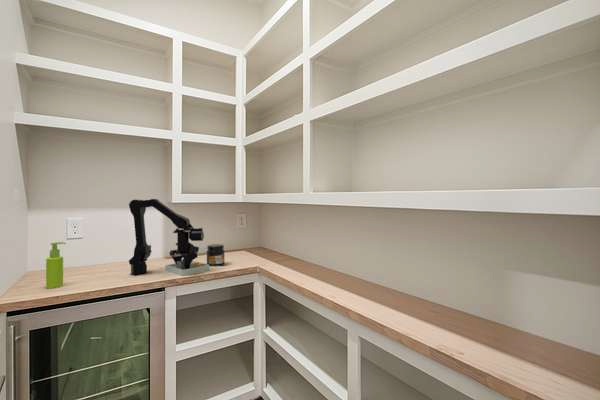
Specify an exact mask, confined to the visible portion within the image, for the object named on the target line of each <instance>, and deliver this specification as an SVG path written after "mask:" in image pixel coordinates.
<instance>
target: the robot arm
mask: <svg viewBox="0 0 600 400" xmlns="http://www.w3.org/2000/svg"><path fill="white" fill-rule="evenodd" d="M128 206H129V210H130V213H131V215H132V216H133V221H134V222H133V225H134V234H135V235H134V236H135V242H136V243H135V246H134V250H133V256H132V257H131V258H130V259H129V260H128V263H129V265H130V273H129V275H131V276H134V277H136V276H141V275H147V274H148V269H147V268H148V265H147V261H148V258H150V256H151V254H152V253H153V251H152V245H151V244H148V243H147V237H146V236H147V235H146V225H145V214H146V209H147V208H151V207H152V208H154V209H156V210H157V211H158V212H159V213H161V214H163V216H165V217H166V218H168V219H169V220H170V221H171V222H172V224H173V225H174V226H175V227H176V229H175V230H174V231H173V232H172V233H173V234H176V236H177V240H176V241H177V242H176V243H175V246H176V248H177V249H171V250H170V251H169V256H170V257H171V258H172V260H173V261H174V264H175V263H176V265H177V261H182V260H183V263H184V267H185V269H189V267H190V264H191V262H192V261H195V259H197V258H198V253H199V250H200V247H199V246H195V245H194V244H192V243H191V242H195V241H197V242H198V241H199V242H201V241H204V238H205V234H204V230H203V227H198V228H195V227H194V226H193V225H192V224H191V220H190V219H189V218H188V217H186V216H183V215H182V214H179V213H177V212H175V211H174V210H172V209H171V208H170V207H168V206H167V205H165V204H164V203H163V202H161V201H160V200H159V199H158V198H151V199H132V200H130V202H129V203H128ZM190 241H191V242H190Z"/></svg>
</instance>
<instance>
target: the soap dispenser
mask: <svg viewBox="0 0 600 400" xmlns="http://www.w3.org/2000/svg"><path fill="white" fill-rule="evenodd" d="M66 244H67V243H66V242H61V241H59V242H51V243H50V246H51V247H52V248H51V250H49V257H47V258H45V278H46V279H45V287H46V289H55V288H54V287H57V288H60V287H59V286H61V287H63V286H64V257H63V256H60V254H61V253H60V249H58V245H66ZM62 285H63V286H62Z"/></svg>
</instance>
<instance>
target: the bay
mask: <svg viewBox="0 0 600 400" xmlns="http://www.w3.org/2000/svg"><path fill="white" fill-rule="evenodd" d="M191 263H194V268H190V269H185V270H182V269H179V268H177V265H176V263H175V262H174V263H170V264H166V265H165V266H164V267H165V269H164V271H165V272H168V273H171V274H173V275H178V276H180V277H185V276H191V275H195V274H199V273H204V272H208V271H210V266H209V264H207V263H204V262H199V261H195V260H192V262H191Z"/></svg>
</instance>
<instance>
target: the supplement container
mask: <svg viewBox="0 0 600 400" xmlns="http://www.w3.org/2000/svg"><path fill="white" fill-rule="evenodd" d="M224 248H225V246H224V244H221V243H219V244H218V243H215V244H208V245H207V248H206V249H207V250H206V264H209V267H222V266H224V265H225V264H226V262H225V249H224Z"/></svg>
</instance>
